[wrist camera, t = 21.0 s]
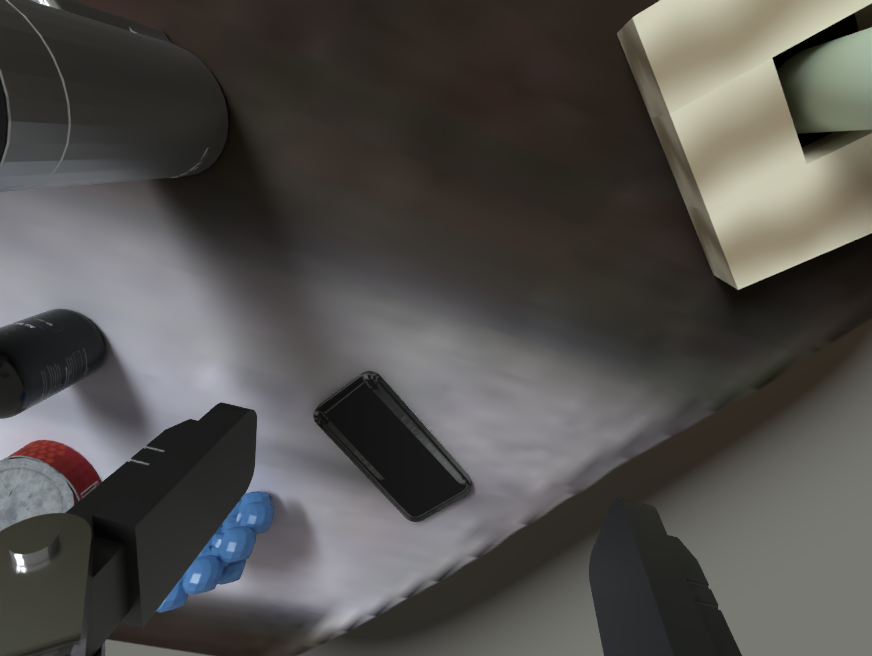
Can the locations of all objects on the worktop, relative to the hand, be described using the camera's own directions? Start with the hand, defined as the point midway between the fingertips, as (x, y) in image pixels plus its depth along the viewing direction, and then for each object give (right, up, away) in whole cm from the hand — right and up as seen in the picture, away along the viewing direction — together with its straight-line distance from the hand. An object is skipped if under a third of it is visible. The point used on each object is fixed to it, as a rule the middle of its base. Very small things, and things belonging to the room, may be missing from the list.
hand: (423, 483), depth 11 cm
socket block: (+24, +19, +20) cm, 36 cm away
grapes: (-19, -15, +39) cm, 46 cm away
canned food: (-40, -13, +41) cm, 59 cm away
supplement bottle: (-34, +2, +35) cm, 48 cm away
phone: (-4, -8, +34) cm, 35 cm away
